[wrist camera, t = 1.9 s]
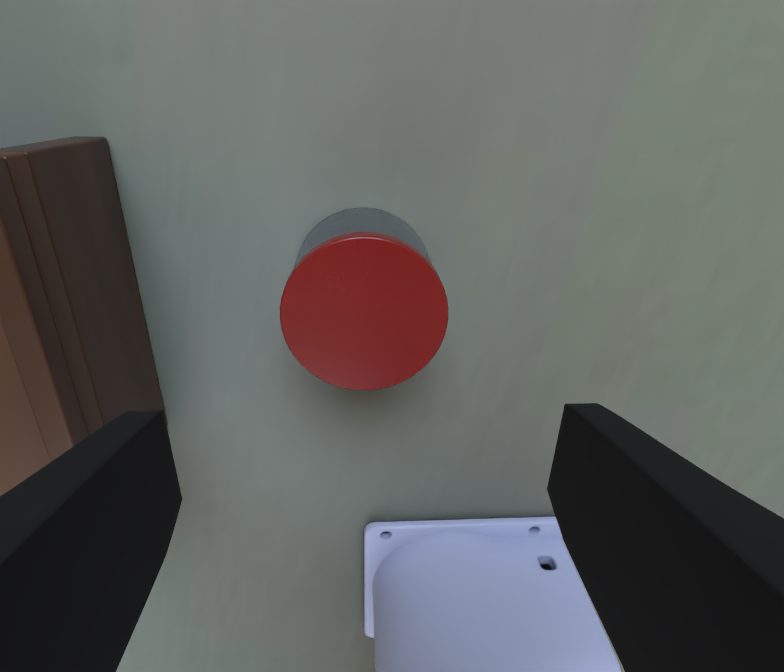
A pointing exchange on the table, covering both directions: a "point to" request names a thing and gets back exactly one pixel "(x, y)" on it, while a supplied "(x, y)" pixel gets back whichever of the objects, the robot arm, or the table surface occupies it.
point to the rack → (65, 305)
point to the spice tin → (363, 302)
